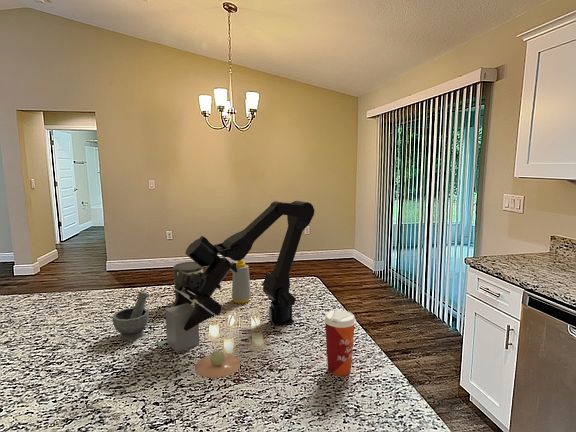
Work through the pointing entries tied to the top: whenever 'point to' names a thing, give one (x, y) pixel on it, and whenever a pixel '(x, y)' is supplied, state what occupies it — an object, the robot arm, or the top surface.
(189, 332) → the grey tall block
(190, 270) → the coffee can
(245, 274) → the soap bottle
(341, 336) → the paper cup
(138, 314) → the mortar and pestle
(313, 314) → the top surface
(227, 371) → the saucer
